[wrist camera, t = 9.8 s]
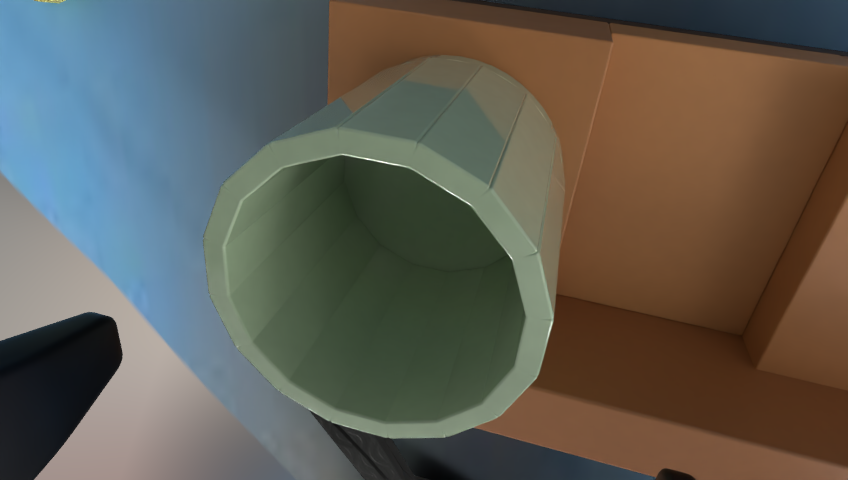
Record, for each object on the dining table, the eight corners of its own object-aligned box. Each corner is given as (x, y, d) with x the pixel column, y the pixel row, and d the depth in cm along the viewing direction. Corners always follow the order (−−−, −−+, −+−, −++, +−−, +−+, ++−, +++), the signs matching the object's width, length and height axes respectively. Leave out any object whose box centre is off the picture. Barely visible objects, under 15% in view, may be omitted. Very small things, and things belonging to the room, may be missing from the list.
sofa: (1120, 89, 14) (1549, 209, 8) (913, 377, 19) (1075, 593, 13) (384, -14, 18) (269, 12, 11) (367, 253, 23) (282, 376, 16)
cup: (590, 75, 13) (593, 175, 8) (537, 292, 16) (511, 474, 11) (341, 37, 14) (185, 98, 9) (336, 247, 17) (218, 391, 12)
